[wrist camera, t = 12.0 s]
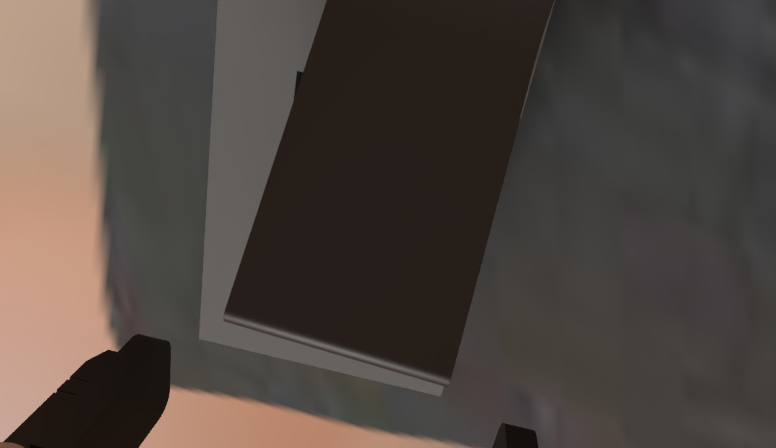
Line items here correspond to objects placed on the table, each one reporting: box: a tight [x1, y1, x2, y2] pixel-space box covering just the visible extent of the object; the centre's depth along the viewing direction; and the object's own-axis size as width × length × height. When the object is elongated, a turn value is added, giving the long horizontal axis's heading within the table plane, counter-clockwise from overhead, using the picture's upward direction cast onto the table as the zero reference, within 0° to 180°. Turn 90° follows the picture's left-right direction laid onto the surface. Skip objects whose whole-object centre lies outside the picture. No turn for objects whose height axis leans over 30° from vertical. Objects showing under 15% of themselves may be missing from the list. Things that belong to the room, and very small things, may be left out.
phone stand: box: [223, 0, 554, 387], centre depth 17 cm, size 9×6×12 cm
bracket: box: [199, 0, 555, 396], centre depth 22 cm, size 11×17×1 cm, turn 169°
